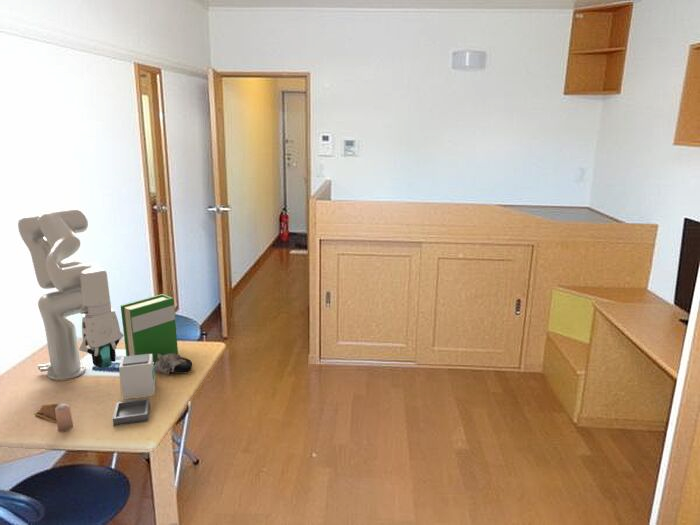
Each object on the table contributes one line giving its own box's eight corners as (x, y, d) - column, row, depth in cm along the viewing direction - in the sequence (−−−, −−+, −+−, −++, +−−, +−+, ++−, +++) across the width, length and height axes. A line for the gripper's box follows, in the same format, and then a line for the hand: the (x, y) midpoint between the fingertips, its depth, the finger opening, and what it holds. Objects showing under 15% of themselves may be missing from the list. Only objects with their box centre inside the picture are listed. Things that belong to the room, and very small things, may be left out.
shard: (57, 424, 163) (56, 419, 163) (29, 428, 161) (29, 423, 161) (65, 406, 174) (64, 402, 173) (39, 410, 171) (38, 405, 171)
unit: (121, 399, 177) (117, 365, 174) (124, 388, 185) (120, 355, 181) (155, 395, 180) (151, 362, 177) (156, 384, 188) (153, 352, 184)
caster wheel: (194, 374, 201) (176, 382, 192) (172, 362, 205) (153, 369, 195) (198, 358, 199) (180, 365, 190) (175, 347, 203) (156, 353, 194)
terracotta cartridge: (56, 432, 159) (53, 410, 157) (59, 425, 162) (56, 403, 160) (71, 430, 160) (68, 408, 158) (74, 423, 164) (70, 401, 162)
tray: (113, 426, 162) (112, 418, 162) (117, 409, 172) (116, 402, 171) (147, 421, 165) (147, 414, 164) (149, 404, 174) (149, 398, 174)
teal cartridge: (95, 365, 164) (92, 343, 162) (107, 361, 167) (104, 339, 165) (102, 369, 162) (99, 346, 160) (114, 364, 165) (111, 342, 163)
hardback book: (137, 369, 198) (130, 310, 192) (127, 363, 203) (120, 305, 196) (178, 353, 212) (173, 297, 205) (167, 348, 216) (162, 293, 210)
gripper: (77, 319, 151) (85, 376, 156) (129, 303, 164) (135, 356, 169) (63, 314, 155) (72, 370, 160) (115, 298, 168) (122, 351, 173)
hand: (104, 362), depth 164 cm, fingers closed on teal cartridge, 4 cm apart
